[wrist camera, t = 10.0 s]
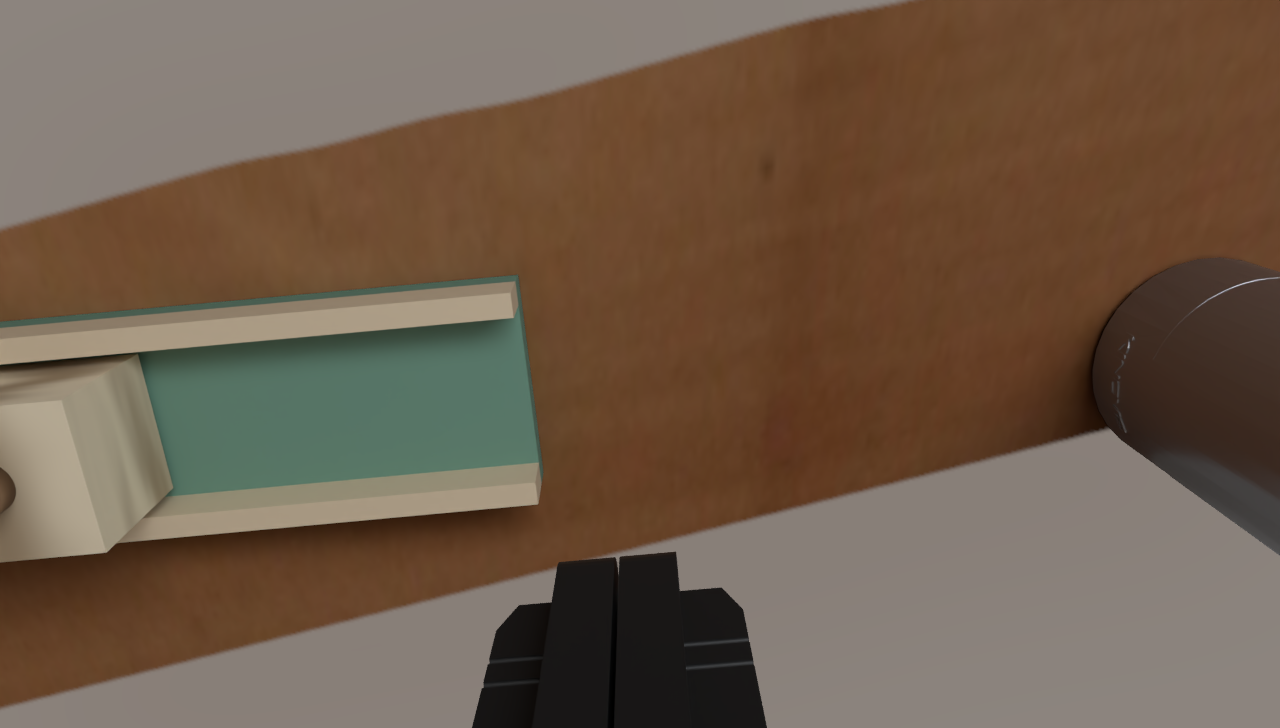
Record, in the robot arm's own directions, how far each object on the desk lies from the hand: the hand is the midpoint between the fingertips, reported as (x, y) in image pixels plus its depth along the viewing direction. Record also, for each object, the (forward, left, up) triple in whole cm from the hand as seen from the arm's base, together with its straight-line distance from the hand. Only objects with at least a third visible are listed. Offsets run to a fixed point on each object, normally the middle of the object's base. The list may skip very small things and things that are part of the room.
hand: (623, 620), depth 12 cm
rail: (+16, +6, -28) cm, 33 cm away
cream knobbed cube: (+23, +6, -26) cm, 35 cm away
